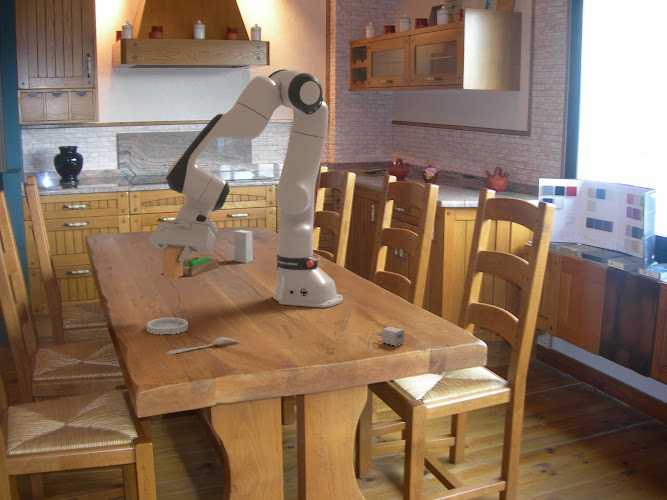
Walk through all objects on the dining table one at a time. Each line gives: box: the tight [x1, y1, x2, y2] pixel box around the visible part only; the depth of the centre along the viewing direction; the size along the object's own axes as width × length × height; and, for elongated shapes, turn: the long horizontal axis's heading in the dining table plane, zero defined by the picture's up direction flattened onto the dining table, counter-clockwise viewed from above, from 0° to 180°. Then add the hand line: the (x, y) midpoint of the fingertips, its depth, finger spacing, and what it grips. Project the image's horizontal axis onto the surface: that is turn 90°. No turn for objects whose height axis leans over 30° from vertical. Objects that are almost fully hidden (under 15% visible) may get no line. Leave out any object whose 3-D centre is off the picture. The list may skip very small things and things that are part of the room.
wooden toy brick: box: [161, 247, 183, 279], centre depth 224 cm, size 4×4×8 cm
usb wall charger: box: [376, 326, 405, 347], centre depth 206 cm, size 4×7×4 cm, turn 48°
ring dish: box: [146, 317, 189, 336], centre depth 215 cm, size 11×11×2 cm
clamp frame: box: [183, 256, 219, 277], centre depth 287 cm, size 10×18×3 cm, turn 155°
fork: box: [166, 336, 242, 355], centre depth 200 cm, size 3×21×3 cm, turn 121°
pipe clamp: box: [189, 256, 211, 267], centre depth 285 cm, size 11×4×5 cm, turn 155°
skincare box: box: [233, 229, 254, 264], centre depth 302 cm, size 6×4×12 cm
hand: (171, 261), depth 224 cm, fingers closed on wooden toy brick, 4 cm apart
